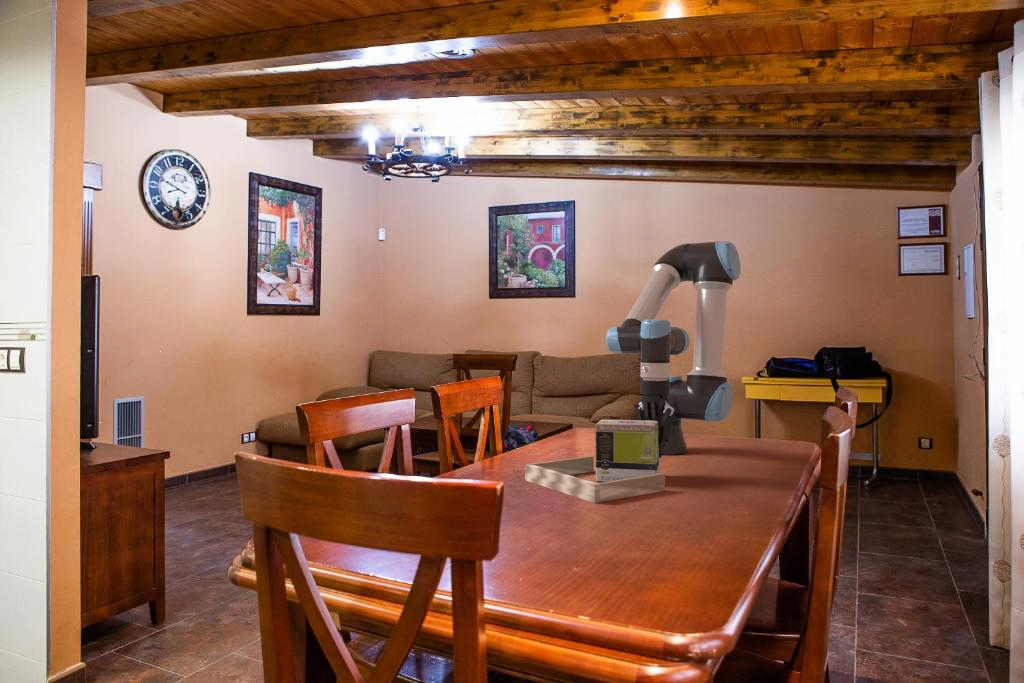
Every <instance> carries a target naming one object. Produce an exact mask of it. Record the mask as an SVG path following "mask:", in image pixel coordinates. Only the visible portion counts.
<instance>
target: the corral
mask: <svg viewBox="0 0 1024 683" xmlns="http://www.w3.org/2000/svg"><path fill="white" fill-rule="evenodd" d="M594 458H595V457H594V456H592V455H589V456H581V457H573V458H566V459H565V458H564V459H557V460H550V461H542V462H536V463H535V462H533V463H527V464H524V481H525V480H526V481H527V482H529V483H531V484H535V485H538V486H542V487H544V488H548V489H550V490H553V491H557V492H558V493H559V492H560V493H563V494H565V495H570V496H571V497H574V498H578V499H581V500H583V501H587V502H589V503H593V504H598V503H603V502H610V501H614V500H619V499H620V500H621V499H625V498H632V497H637V496H643V495H650V494H655V493H659V492H660V493H661V492H665V490H666V486H665V485H666V474H665V473H663V472H660V473H659V474H653V475H647V476H641V477H634V478H628V479H622V480H615V481H609V482H604V481H601V482H594V481H590V480H587V479H583V478H579V477H576V476H574V475H578V474H586V473H592V472H594V469H595V468H594V465H595V464H594V462H595V461H594V460H595V459H594ZM526 481H525V482H526Z"/></svg>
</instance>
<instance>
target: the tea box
mask: <svg viewBox="0 0 1024 683" xmlns="http://www.w3.org/2000/svg"><path fill="white" fill-rule="evenodd" d="M658 440H659V437H658V421H643V420H638V419H634V420H633V419H600V420H598V422H597V423H595V479H596V480H595V481H596V482H609V481H615V480H622V479H628V478H634V477H641V476H647V475H653V474H660V473H659V472H660V470H659V443H658Z"/></svg>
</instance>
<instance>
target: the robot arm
mask: <svg viewBox="0 0 1024 683" xmlns="http://www.w3.org/2000/svg"><path fill="white" fill-rule="evenodd" d="M740 260H741V259H740V256H739V252H738V250H737V246H736V245H735V244H734V243H732V242H730V241H711V242H710V241H708V242H707V241H706V242H694V243H683V244H679V245H677V246H674V247H673V248H671V249H669V250H668V251H666V252H665V253H664V254H663V255H662V256H661V257H659V258H658V260H657V261H656V262H655V263H654V264H653V266H652V268H650V273H649V279H648V281H647V282H646V283H645V286H644V288H643V289H642V291H641V293H640V294H639V295H638V297H637V299H636V301H635V302H634V304H633V305H632V308H631V309H630V310H629V312H628V314H627V315H626V317H625V319H624V320H623V322H622V324H621V325H620V326H619V325H617V326H612V327H610V328H608V330H607V331H606V335H605V344H606V347H607V350H608V351H610V353H614V354H621V355H627V354H628V355H640V372H639V373H640V375H639V376H640V378H642V379H641V380H640V381H639V392H640V394H641V396H642V397H641V399H640V400H641V401H640V402H639V403H635V404H634V405H633V407H634V409H635V412H636V416H637V417H636V418H637V420H643V421H658V437H659V440H658V443H659V471H660V469H661V458H662V456H665V455H667V456H668V455H669V456H670V455H682V454H686V453H687V452H688V446H687V442H686V440H685V436H684V433H683V428H682V419H684V420H694V421H703V422H705V421H706V422H722V421H724V420H725V419H726V418H727V417H728V415H729V414H730V411H731V409H732V405H733V399H734V387H733V385H732V384H731V383H730V382H729V381H728V377H727V375H726V374H725V372H724V371H723V364H724V363H723V361H724V346H725V342H724V341H725V330H726V310H727V296H728V294H727V293H728V291H730V290H731V289H732V288H733V285H734V283H733V282H734V281H736V280H739V278H740V275H741V261H740ZM683 282H692V286H693V288H694V289H695V290H696V291H697V292H696V293H697V295H696V296H697V297H696V310H695V311H696V312H695V325H694V326H695V327H694V328H695V329H694V341H693V354H692V355H693V356H692V359H693V360H692V369H691V370H690V371H689V372H688V373H686V380H683V376H682V375H671V366H670V364H671V356H678V355H681V354H683V353H685V352H686V351H687V350H688V349H689V346H690V342H691V340H690V337H689V336H690V335H689V333H688V332H687V331H686V330H685V329H684V328H682V327H678V326H671V322H670V320H668V319H657V317H658V315H659V313H660V312H661V310H662V308H663V306H664V305H665V303H666V301H667V299H668V298H669V296H670V294H671V293H672V291H673V290H675V289H677V287H678V286H679V285H680V283H683Z"/></svg>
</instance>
